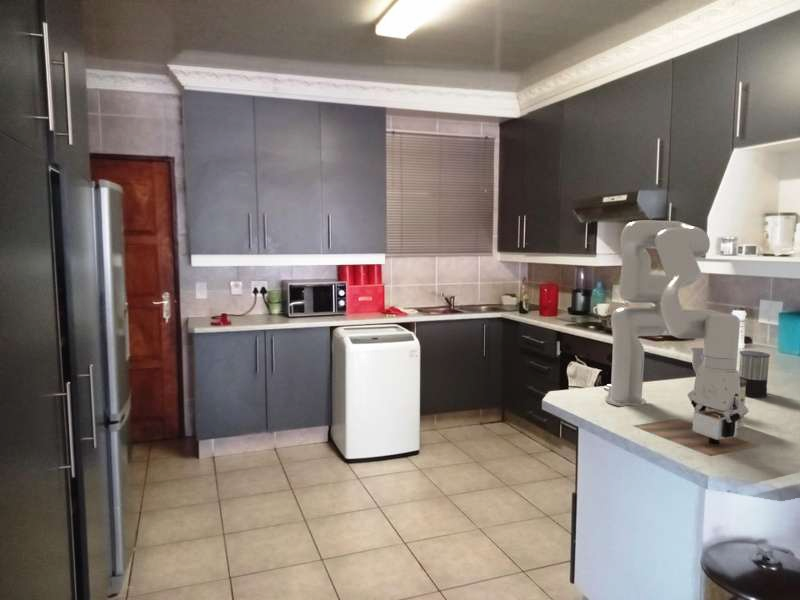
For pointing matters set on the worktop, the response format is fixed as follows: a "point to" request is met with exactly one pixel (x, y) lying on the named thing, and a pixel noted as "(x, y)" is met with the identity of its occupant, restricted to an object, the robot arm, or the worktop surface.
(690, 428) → the board
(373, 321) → the worktop surface
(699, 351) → the chalice
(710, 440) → the post
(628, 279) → the robot arm
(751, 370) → the milk frother
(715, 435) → the white hollow square box
